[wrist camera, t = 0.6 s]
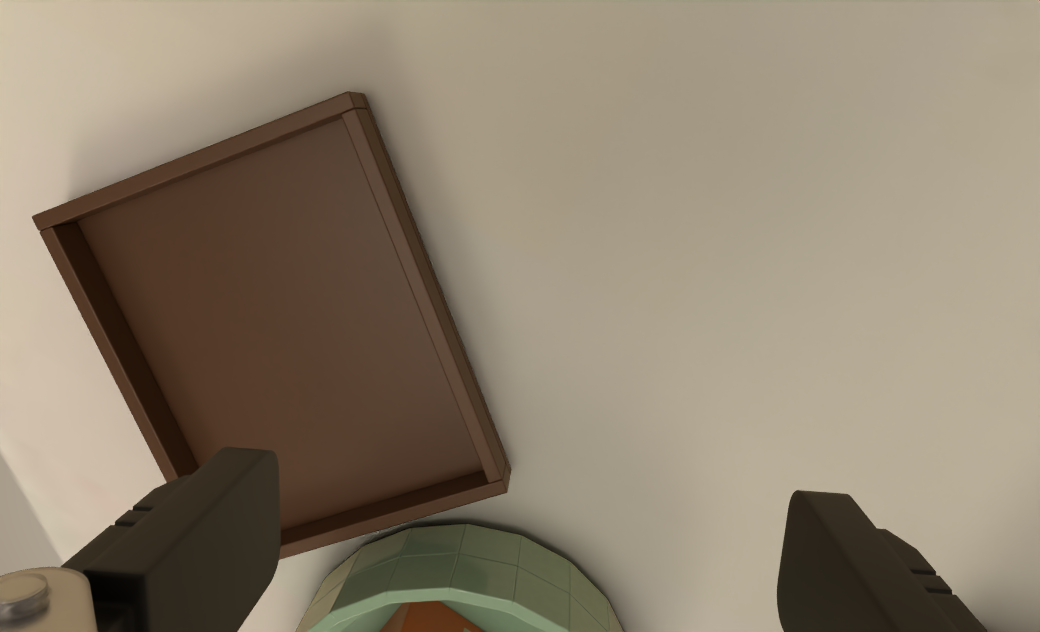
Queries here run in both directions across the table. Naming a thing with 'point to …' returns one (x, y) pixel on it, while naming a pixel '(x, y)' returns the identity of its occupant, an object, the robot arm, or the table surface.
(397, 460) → the tray
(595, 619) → the bowl
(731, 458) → the table surface
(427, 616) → the block
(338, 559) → the table surface
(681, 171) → the table surface
